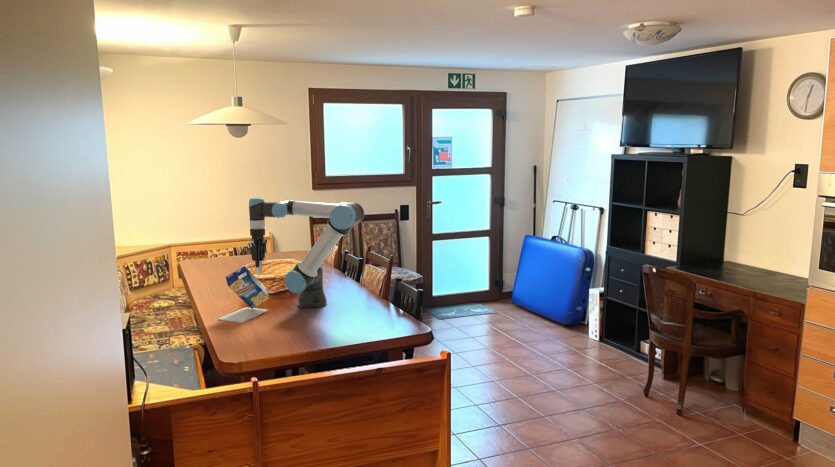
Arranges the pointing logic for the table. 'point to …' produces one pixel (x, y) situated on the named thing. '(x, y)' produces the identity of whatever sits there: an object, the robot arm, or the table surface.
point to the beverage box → (247, 287)
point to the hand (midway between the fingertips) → (259, 273)
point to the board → (243, 315)
